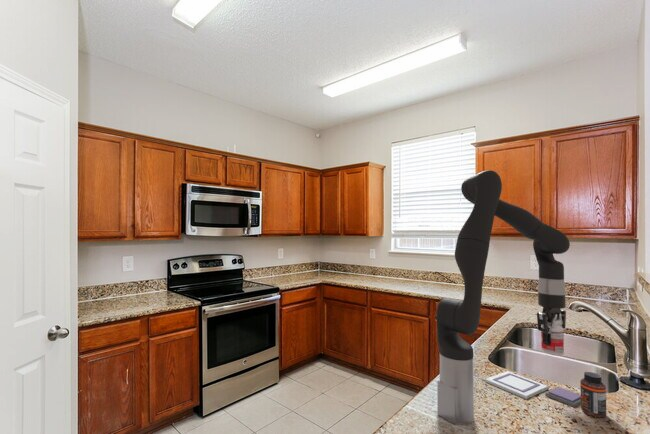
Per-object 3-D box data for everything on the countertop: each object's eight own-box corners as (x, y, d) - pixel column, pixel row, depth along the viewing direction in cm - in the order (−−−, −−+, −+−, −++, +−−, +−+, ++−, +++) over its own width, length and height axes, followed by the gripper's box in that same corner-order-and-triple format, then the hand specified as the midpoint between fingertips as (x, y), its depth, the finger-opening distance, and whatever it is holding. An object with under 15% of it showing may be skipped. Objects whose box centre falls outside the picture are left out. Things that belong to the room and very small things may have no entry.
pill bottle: (543, 348, 112) (543, 315, 113) (565, 353, 108) (564, 319, 108) (539, 352, 107) (539, 318, 108) (562, 357, 103) (561, 322, 104)
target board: (526, 399, 104) (526, 395, 104) (485, 381, 116) (485, 378, 116) (548, 389, 112) (547, 385, 112) (507, 373, 124) (507, 370, 124)
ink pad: (574, 407, 100) (574, 402, 100) (545, 395, 107) (545, 391, 107) (585, 400, 104) (585, 395, 104) (557, 390, 111) (557, 385, 111)
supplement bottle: (575, 407, 100) (574, 369, 101) (595, 407, 100) (594, 370, 100) (591, 418, 94) (590, 378, 95) (612, 419, 94) (611, 378, 94)
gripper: (552, 295, 102) (553, 349, 101) (574, 292, 109) (575, 343, 108) (527, 291, 109) (528, 342, 107) (550, 289, 116) (550, 337, 115)
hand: (552, 342), depth 108 cm, fingers closed on pill bottle, 6 cm apart
